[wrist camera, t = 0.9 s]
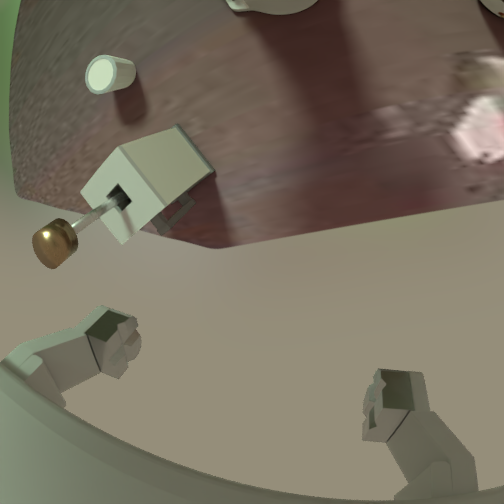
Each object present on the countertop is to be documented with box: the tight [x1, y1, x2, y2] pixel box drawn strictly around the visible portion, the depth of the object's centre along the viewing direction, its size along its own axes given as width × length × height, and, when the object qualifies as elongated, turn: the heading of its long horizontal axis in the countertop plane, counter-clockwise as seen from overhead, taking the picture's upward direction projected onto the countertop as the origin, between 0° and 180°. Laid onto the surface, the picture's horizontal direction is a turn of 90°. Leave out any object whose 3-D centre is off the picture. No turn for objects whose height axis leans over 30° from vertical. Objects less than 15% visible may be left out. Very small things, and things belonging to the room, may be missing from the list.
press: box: [80, 124, 215, 245], centre depth 44 cm, size 13×10×18 cm
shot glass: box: [85, 55, 136, 94], centre depth 41 cm, size 7×7×7 cm
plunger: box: [32, 184, 132, 269], centre depth 33 cm, size 7×7×20 cm
